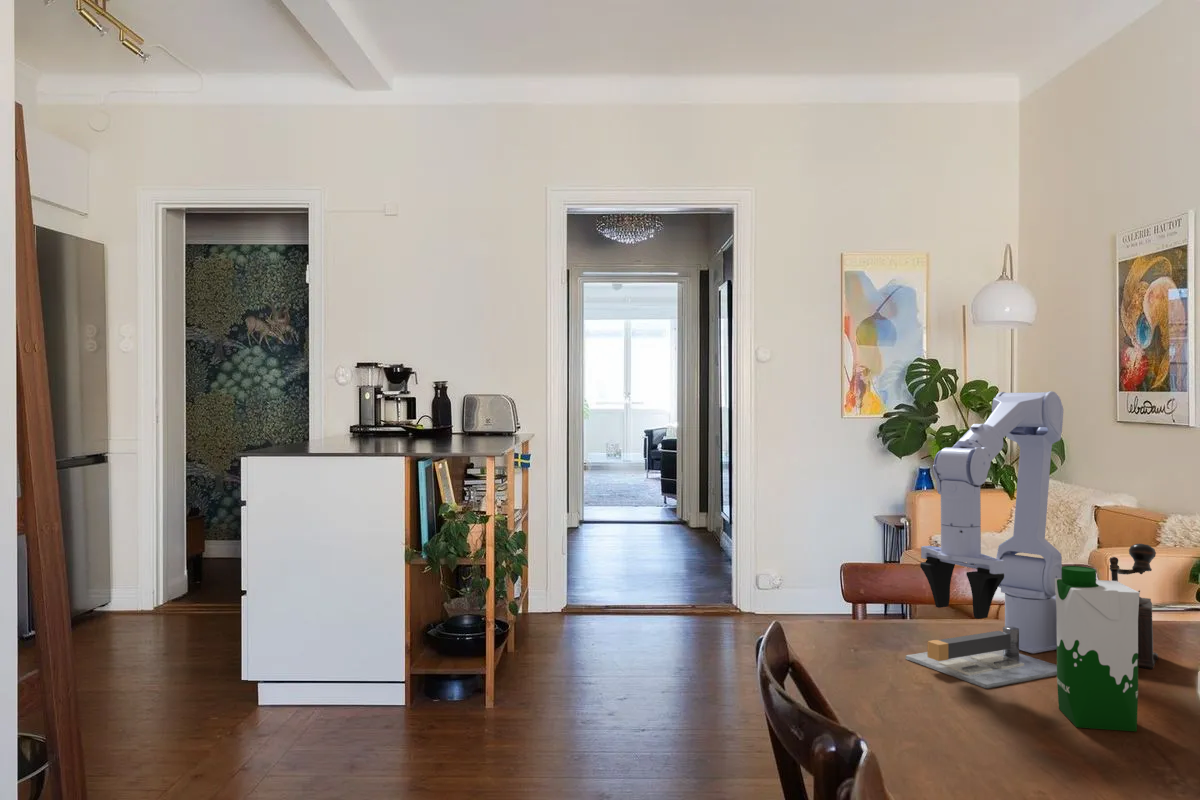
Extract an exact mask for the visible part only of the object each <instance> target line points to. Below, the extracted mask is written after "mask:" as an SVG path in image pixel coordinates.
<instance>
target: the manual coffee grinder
mask: <svg viewBox="0 0 1200 800" xmlns="http://www.w3.org/2000/svg"><path fill="white" fill-rule="evenodd" d="M1128 554H1129V556H1130V557H1131V558H1132V559H1133V561H1134V563H1133V566H1132V567H1131V569H1130V568H1129V569H1123V568H1120V566H1119V559H1118V557H1116V556H1112V557H1110V558H1109V560H1108V561H1109V563H1110V564H1109V571H1110V572H1111V581H1118V582H1119V575H1132V574H1139V575H1143V573H1146V572H1152V568H1151V565H1150V564H1151V562H1152V560H1153V559H1155V557H1156V554H1157V551H1156V550H1155V548H1154V547H1152V546H1151V545H1149V544H1145V543H1135V544H1133V545H1131V546H1130V548H1129V549H1128ZM1137 592H1139V593H1141V590H1140V589H1139V590H1137ZM1151 599H1152V598H1150V597H1149V598H1148V597H1141V596H1140V595H1139V611H1138V669H1149V670H1153V669H1154V668H1155V664H1156V662H1157V661H1158V660H1159V654H1158V653H1157V652H1154V630H1153V629H1154V627H1153V602H1152V600H1151Z"/></svg>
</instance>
